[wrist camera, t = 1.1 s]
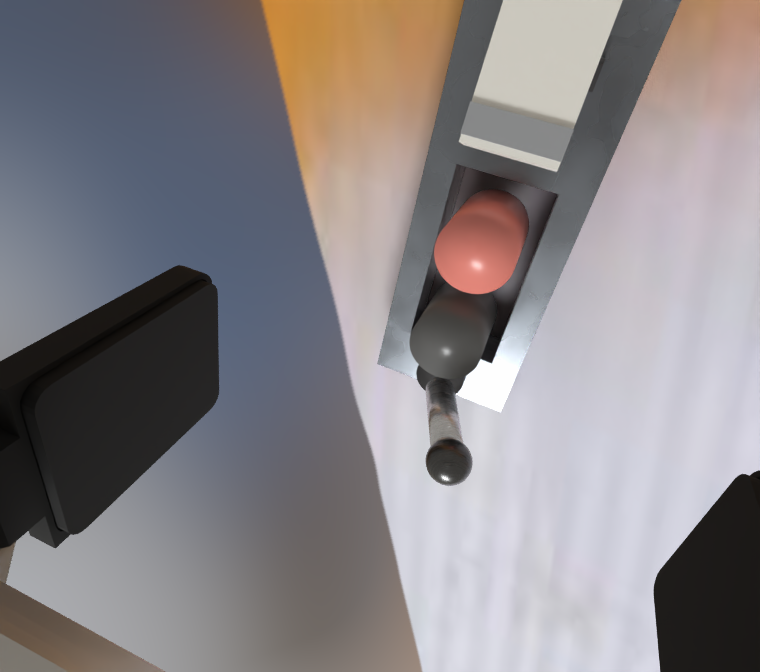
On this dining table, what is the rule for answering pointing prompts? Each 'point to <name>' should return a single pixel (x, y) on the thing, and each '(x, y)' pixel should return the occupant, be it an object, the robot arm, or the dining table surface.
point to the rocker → (537, 78)
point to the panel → (571, 182)
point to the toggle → (445, 435)
